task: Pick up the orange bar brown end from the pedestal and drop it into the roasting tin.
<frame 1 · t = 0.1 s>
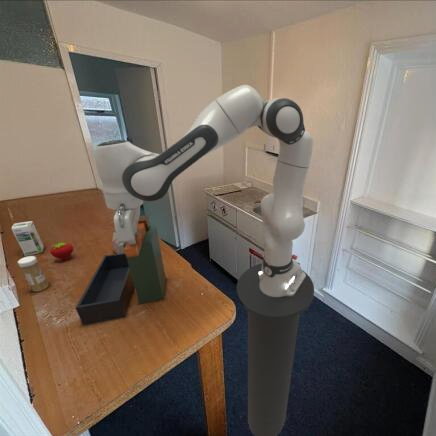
hand: (133, 240, 72), 29 cm above the table, tool pointing down, fingers closed on orange bar brown end, 3 cm apart
syrup box: (35, 251, 108), on the table
pedestal: (153, 290, 92), on the table
strawberry: (66, 260, 105), on the table
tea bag: (121, 252, 113), on the table
sprinkles bottle: (41, 288, 89), on the table
roasting tin: (116, 290, 91), on the table
orange bar brown end: (138, 239, 78), point 26 cm above the table, touching gripper, pedestal
when the fingers open (29 cm above the table, at t = 0.2 s): orange bar brown end stays where it is, resting on pedestal.
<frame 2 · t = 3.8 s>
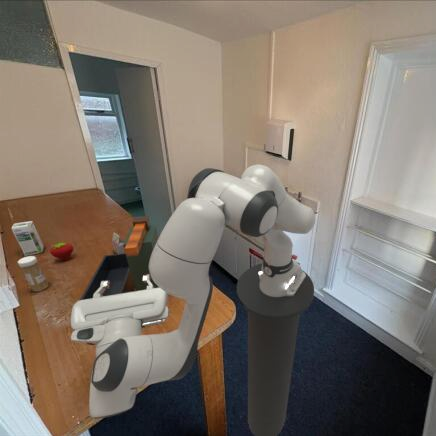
hand: (126, 278, 63), 25 cm above the table, tool pointing upward, fingers open, 8 cm apart
orange bar brown end: (138, 239, 78), point 26 cm above the table, touching pedestal
everything else where it was.
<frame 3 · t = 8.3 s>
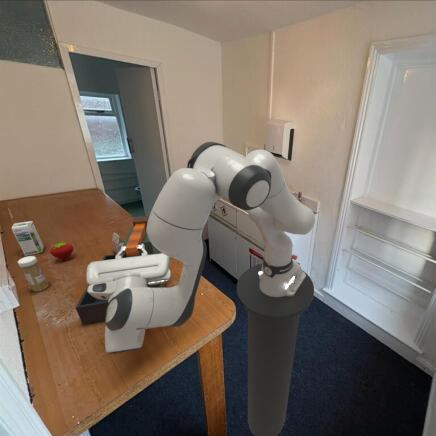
hand: (133, 245, 72), 28 cm above the table, tool pointing upward, fingers closed on orange bar brown end, 3 cm apart
orange bar brown end: (138, 239, 78), point 26 cm above the table, touching gripper, pedestal
everything else where it was.
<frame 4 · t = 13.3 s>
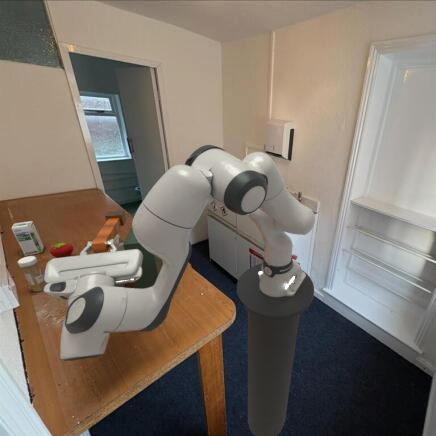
hand: (102, 241, 66), 32 cm above the table, tool pointing upward, fingers closed on orange bar brown end, 3 cm apart
orange bar brown end: (110, 235, 72), point 30 cm above the table, touching gripper
everything else where it was.
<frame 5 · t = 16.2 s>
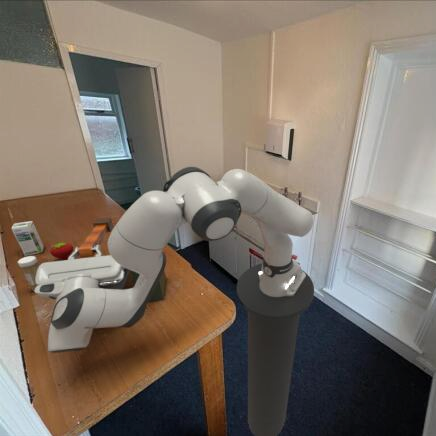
hand: (88, 246, 73), 26 cm above the table, tool pointing upward, fingers closed on orange bar brown end, 3 cm apart
orange bar brown end: (97, 240, 79), point 24 cm above the table, touching gripper
everything else where it was.
when the fingers open (17 cm above the table, at t = 18.8 s): orange bar brown end drops 14 cm, resting on roasting tin.
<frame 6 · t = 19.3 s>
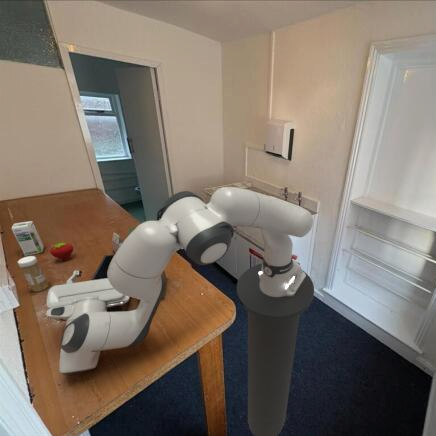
hand: (95, 268, 76), 17 cm above the table, tool pointing upward, fingers open, 8 cm apart
orange bar brown end: (112, 293, 88), point 1 cm above the table, touching roasting tin
everything else where it was.
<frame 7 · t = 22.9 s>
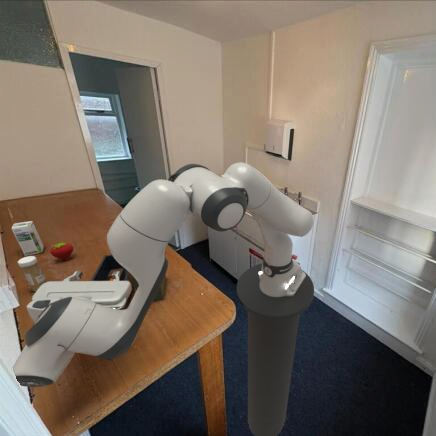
hand: (98, 272, 69), 21 cm above the table, tool horizontal, fingers open, 8 cm apart
nothing on the table moved.
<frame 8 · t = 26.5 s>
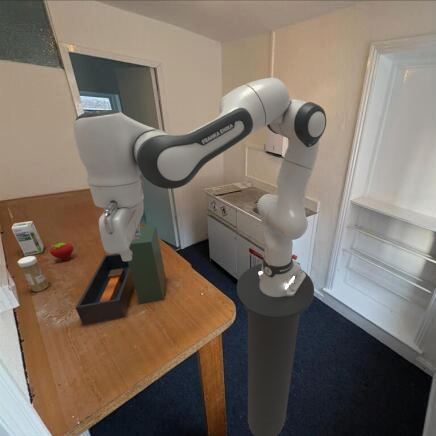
hand: (132, 247, 55), 37 cm above the table, tool pointing down, fingers open, 8 cm apart
nothing on the table moved.
at the end: orange bar brown end inside the target area in the roasting tin (2.4 cm from its centre), point 0.8 cm above the roasting tin's base; the gripper is holding nothing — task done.
